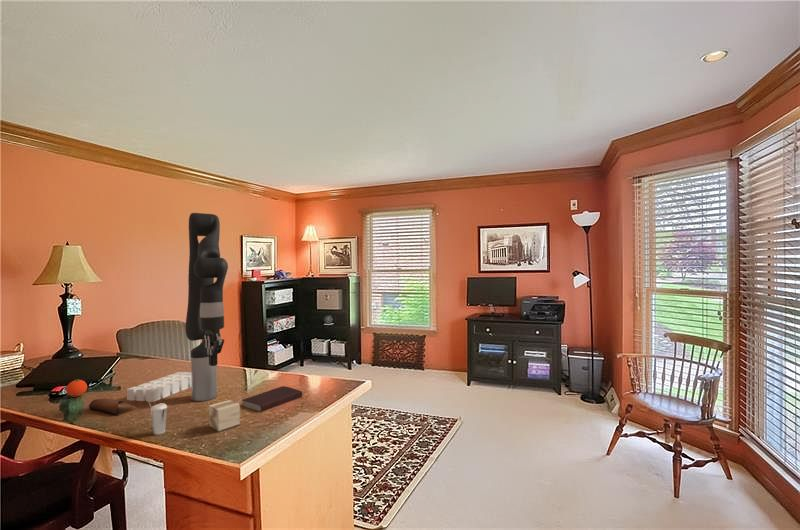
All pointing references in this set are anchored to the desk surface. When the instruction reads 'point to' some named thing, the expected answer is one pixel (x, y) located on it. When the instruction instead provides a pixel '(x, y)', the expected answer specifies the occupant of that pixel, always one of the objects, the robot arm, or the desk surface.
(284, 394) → the book
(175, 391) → the organizer
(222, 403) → the maple block
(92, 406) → the sunglasses case
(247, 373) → the desk surface
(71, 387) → the clementine
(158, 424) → the milkshake
